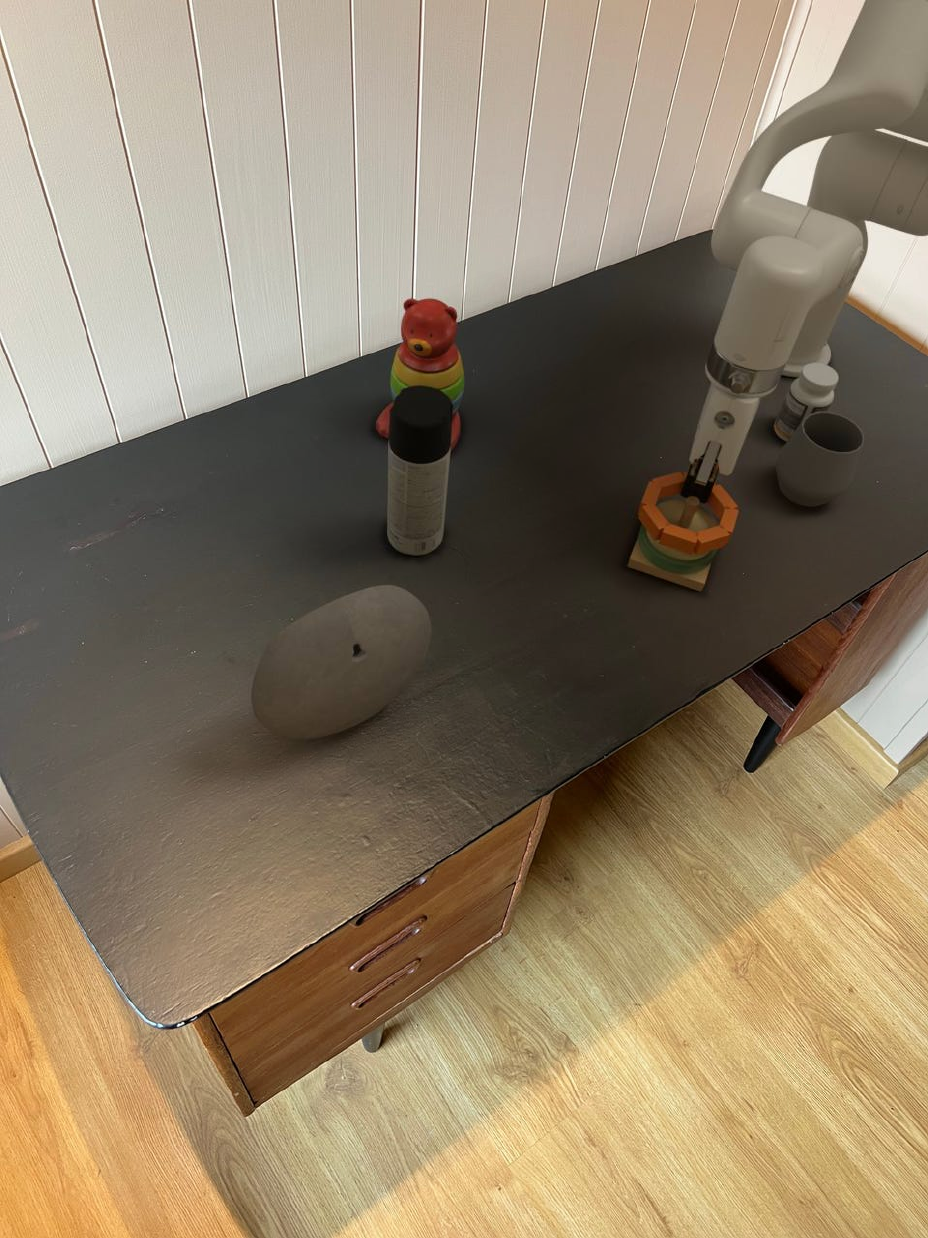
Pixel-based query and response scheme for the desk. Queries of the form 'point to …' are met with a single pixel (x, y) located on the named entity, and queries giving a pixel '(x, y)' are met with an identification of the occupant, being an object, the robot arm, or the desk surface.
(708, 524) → the stacker
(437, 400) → the spray can
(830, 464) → the cup
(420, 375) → the stacking bear
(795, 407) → the pill bottle
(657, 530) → the orange ring
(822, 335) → the robot arm
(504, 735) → the desk surface
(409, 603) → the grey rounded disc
